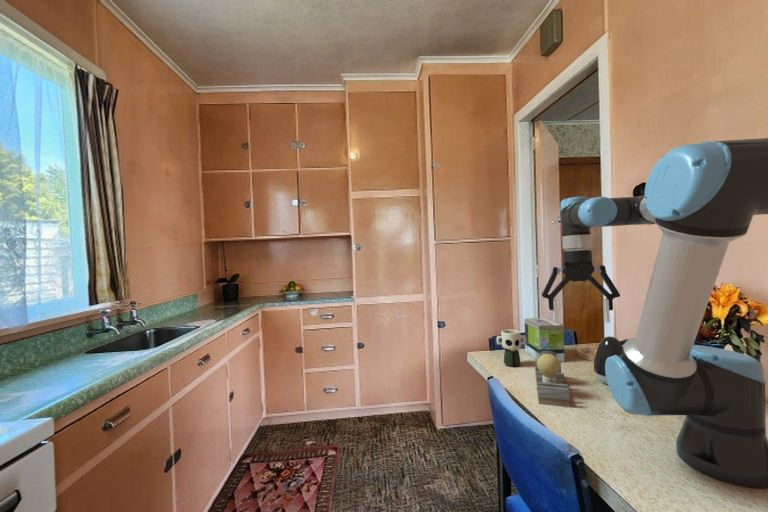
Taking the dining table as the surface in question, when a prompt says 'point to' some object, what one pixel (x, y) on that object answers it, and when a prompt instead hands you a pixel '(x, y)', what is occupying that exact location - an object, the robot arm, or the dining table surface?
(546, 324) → the tea box
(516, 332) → the character mug
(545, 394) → the grey stacked slabs
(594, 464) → the dining table surface
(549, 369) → the light bulb
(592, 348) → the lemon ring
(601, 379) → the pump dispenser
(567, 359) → the dining table surface
